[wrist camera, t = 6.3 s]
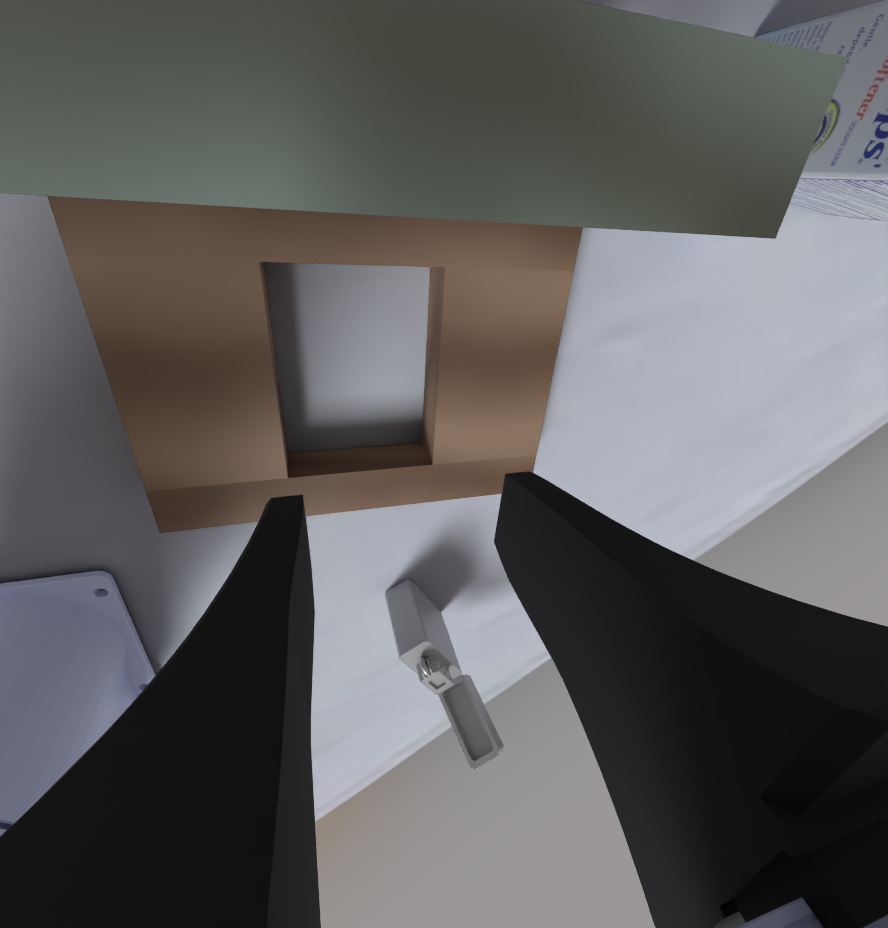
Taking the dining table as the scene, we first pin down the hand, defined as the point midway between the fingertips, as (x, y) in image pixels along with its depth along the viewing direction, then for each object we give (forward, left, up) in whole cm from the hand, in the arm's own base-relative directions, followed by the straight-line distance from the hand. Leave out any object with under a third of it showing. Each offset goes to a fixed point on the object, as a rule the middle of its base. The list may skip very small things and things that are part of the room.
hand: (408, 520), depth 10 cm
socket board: (0, 0, -10) cm, 10 cm away
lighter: (-16, -4, -11) cm, 20 cm away
